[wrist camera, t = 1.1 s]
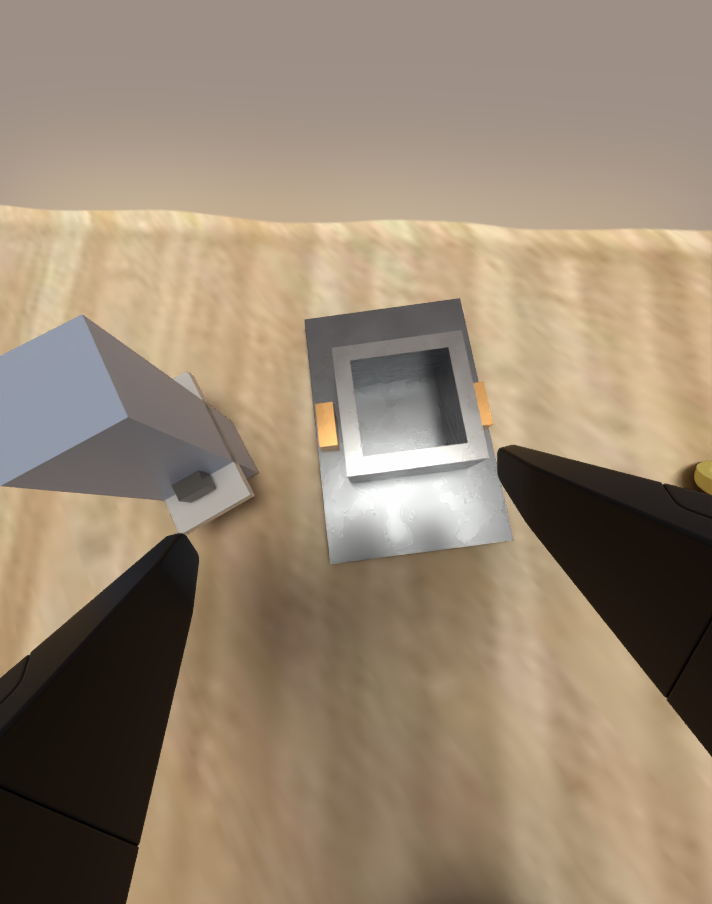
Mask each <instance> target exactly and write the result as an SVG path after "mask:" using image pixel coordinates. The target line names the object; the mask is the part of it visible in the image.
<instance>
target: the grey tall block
mask: <svg viewBox="0 0 712 904" xmlns="http://www.w3.org/2000/svg"><path fill="white" fill-rule="evenodd" d="M257 473H259V472H258V470H257V468H256V466H255V464H254V462H253V460H252V458H251V456H250V455H249V453H248V451H247V449H246V447H245V445H244V443H243V441H242V439H241V437H240V435H239V433H238V432H237V430H236V428H235V426H234V424H233V422H232V421H231V420H229V419H228V418H227V417H225V416H224V415H222V414H221V413H220V412H218V411H217V410H215V409H214V408H213V407H211V406H210V405H208V403H207V401H206V399H205V397H204V395H203V393H202V391H201V389H200V387H199V385H198V383H197V381H196V379H195V377H194V376H193V375H192V374H190V373H189V372H188V371H187V372H185V373H183V374H181V375H179V376H178V377H176V378H174V379H172V378H171V377H169V376H168V375H166V374H165V373H164V372H162V371H161V370H159V369H158V368H157V367H155V366H154V365H152V364H151V363H150V362H148V361H147V360H145V359H144V358H143V357H141V356H140V355H138V354H137V353H136V352H134V351H133V350H131V349H130V348H129V347H127V346H126V345H124V344H123V343H122V342H120V341H119V340H117V339H116V338H115V337H113V336H112V335H110V334H109V333H108V332H106V331H105V330H103V329H102V328H101V327H99V326H98V325H96V324H95V323H94V322H92V321H91V320H89V319H88V318H87V317H85V316H84V315H80V316H78V317H76V318H74V319H72V320H70V321H68V322H66V323H64V324H62V325H60V326H58V327H56V328H54V329H52V330H50V331H48V332H46V333H45V334H43V335H41V336H39V337H37V338H35V339H33V340H31V341H29V342H27V343H25V344H23V345H21V346H19V347H17V348H15V349H13V350H11V351H9V352H7V353H5V354H3V355H1V356H0V486H5V487H16V488H28V489H39V490H50V491H62V492H73V493H84V494H96V495H107V496H118V497H130V498H141V499H152V500H164V501H165V503H166V505H167V507H168V510H169V512H170V514H171V516H172V519H173V521H174V523H175V525H176V528H177V530H178V532H179V533H184V534H185V535H187V534H189V533H191V532H193V531H194V530H196V529H198V528H200V527H201V526H203V525H205V524H207V523H208V522H210V521H212V520H214V519H215V518H217V517H219V516H221V515H222V514H224V513H226V512H227V511H229V510H231V509H233V508H234V507H236V506H238V505H240V504H241V503H243V502H245V501H247V500H248V499H250V498H252V497H254V496H255V495H254V493H253V491H252V489H251V487H250V485H249V483H248V481H247V479H248V478H250V477H252V476H253V475H255V474H257Z"/></svg>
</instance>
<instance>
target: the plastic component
mask: <svg viewBox="0 0 712 904" xmlns="http://www.w3.org/2000/svg"><path fill="white" fill-rule="evenodd" d="M694 480H695V482H696V484H697V485H698V486H699V487H700V488H701V489H702V490H703V491H705V492H706V493H708V494H710V495H712V461H705V462H701V463H699V464H697V467H696V470H695V474H694Z"/></svg>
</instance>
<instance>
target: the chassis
mask: <svg viewBox="0 0 712 904" xmlns="http://www.w3.org/2000/svg"><path fill="white" fill-rule="evenodd" d="M305 329H306V339H307V348H308V358H309V367H310V377H311V386H312V396H313V405H314V415H315V424H316V434H317V443H318V453H319V462H320V472H321V481H322V491H323V500H324V510H325V519H326V529H327V538H328V548H329V557H330V564H335V563H342V562H350V561H358V560H366V559H374V558H381V557H389V556H397V555H405V554H412V553H420V552H428V551H436V550H443V549H451V548H459V547H467V546H474V545H482V544H490V543H498V542H505V541H513V535H512V531H511V526H510V522H509V517H508V513H507V508H506V504H505V499H504V495H503V490H502V486H501V482H500V480H499V478H498V475H497V463H496V459H495V454H494V449H493V445H492V440H491V436H490V431H489V427H490V426H491V425H493V422H492V417H491V413H490V408H489V404H488V400H487V395H486V391H485V386H484V382H478V377H477V373H476V368H475V364H474V359H473V355H472V350H471V346H470V341H469V337H468V332H467V328H466V323H465V319H464V314H463V310H462V305H461V301H460V298H459V299H452V300H444V301H437V302H430V303H422V304H415V305H408V306H400V307H393V308H386V309H379V310H371V311H364V312H357V313H349V314H342V315H335V316H327V317H320V318H313V319H306V320H305Z"/></svg>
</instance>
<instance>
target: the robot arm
mask: <svg viewBox="0 0 712 904" xmlns="http://www.w3.org/2000/svg"><path fill="white" fill-rule="evenodd" d="M497 475H498V478H499V480H500V482H501V484H502V485H503V487H504V488H505V490H506V492H507V493H508V495H509V496H510V498H511V500H512V501H513V503H514V504H515V506H516V508H517V509H518V511H519V512H520V514H521V516H522V517H523V519H524V520H525V522H526V523H527V525H528V526H529V527H530V528H531V530H532V531H533V532H534V534H535V535H536V536H537V537H538V539H539V540H540V541H541V542H542V544H543V545H544V546H545V547H546V549H547V550H548V551H549V552H550V554H551V555H552V556H553V557H554V559H555V560H556V561H557V562H558V564H559V565H560V566H561V568H562V569H563V570H564V571H565V573H566V574H567V575H568V576H569V578H570V579H571V580H572V581H573V583H574V584H575V585H576V586H577V588H578V589H579V590H580V591H581V593H582V594H583V595H584V596H585V598H586V599H587V600H588V601H589V603H590V604H591V605H592V606H593V608H594V609H595V610H596V611H597V613H598V614H599V615H600V617H601V618H602V619H603V620H604V622H605V623H606V624H607V625H608V627H609V628H610V629H611V630H612V632H613V633H614V634H615V635H616V637H617V638H618V639H619V640H620V642H621V643H622V644H623V645H624V647H625V648H626V649H627V650H628V652H629V653H630V654H631V655H632V657H633V658H634V659H635V660H636V662H637V663H638V664H639V666H640V667H641V668H642V669H643V671H644V672H645V673H646V674H647V676H648V677H649V678H650V679H651V681H652V682H653V683H654V684H655V686H656V687H657V688H658V689H659V691H660V692H661V693H662V694H663V696H664V697H666V698H667V701H668V702H669V704H670V705H671V706H672V707H673V709H674V710H675V711H676V712H677V714H678V715H679V716H680V717H681V719H682V720H683V721H684V722H685V724H686V725H687V726H688V728H689V729H690V730H691V731H692V733H693V734H694V735H695V736H696V738H697V739H698V740H699V741H700V743H701V744H702V745H703V746H704V748H705V749H706V750H707V751H708V753H709V754H710V755H711V756H712V495H710V494H705V493H701V492H697V491H693V490H689V489H685V488H681V487H677V486H673V485H670V484H662V483H661V482H658V481H654V480H650V479H646V478H642V477H638V476H634V475H630V474H626V473H622V472H618V471H615V470H611V469H607V468H603V467H599V466H595V465H591V464H587V463H583V462H579V461H576V460H572V459H568V458H564V457H560V456H556V455H552V454H548V453H544V452H540V451H537V450H533V449H529V448H525V447H521V446H517V445H509V446H505V447H501V448H499V450H498V452H497ZM198 566H199V556H198V553H197V551H196V550H195V548H194V547H193V545H192V544H191V542H190V541H189V539H188V538H187V536H186V535H185V534H184V533H177V534H174V535H170V536H167V537H165V538H164V539H163V540H162V541H161V542H159V543H158V544H157V545H156V546H155V547H154V548H152V549H151V550H150V551H149V552H148V553H147V554H145V555H144V556H143V557H142V558H141V559H139V560H138V561H137V562H136V563H135V564H134V565H132V566H131V567H130V568H129V569H128V570H127V571H125V572H124V573H123V574H122V575H121V576H120V577H118V578H117V579H116V580H115V581H114V582H113V583H111V584H110V585H109V586H108V587H107V588H105V589H104V590H103V591H102V592H101V593H100V594H98V595H97V596H96V597H95V598H94V599H93V600H91V601H90V602H89V603H88V604H87V605H86V606H84V607H83V608H82V609H81V610H80V611H79V612H77V613H76V614H75V615H74V616H73V617H71V618H70V619H69V620H68V621H67V622H66V623H64V624H63V625H62V626H61V627H60V628H59V629H57V630H56V631H55V632H54V633H53V634H52V635H50V636H49V637H48V638H47V639H46V640H45V641H43V642H42V643H41V644H40V645H39V646H37V647H36V648H35V649H34V650H33V651H32V652H31V653H30V655H27V656H26V657H24V658H23V659H22V660H21V661H20V662H19V663H17V664H16V665H15V666H14V667H13V668H12V669H10V670H9V671H8V672H7V673H6V674H4V675H3V676H2V677H1V678H0V904H126V901H127V897H128V892H129V888H130V884H131V880H132V875H133V871H134V867H135V862H136V858H137V854H138V849H139V847H138V845H139V843H140V839H141V835H142V831H143V826H144V822H145V818H146V813H147V809H148V805H149V800H150V796H151V792H152V787H153V783H154V779H155V775H156V770H157V766H158V762H159V757H160V753H161V749H162V744H163V740H164V736H165V731H166V727H167V723H168V718H169V714H170V710H171V705H172V701H173V697H174V692H175V688H176V684H177V679H178V675H179V671H180V666H181V662H182V658H183V653H184V649H185V645H186V640H187V636H188V632H189V627H190V623H191V618H192V613H193V607H194V599H195V591H196V583H197V574H198Z"/></svg>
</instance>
